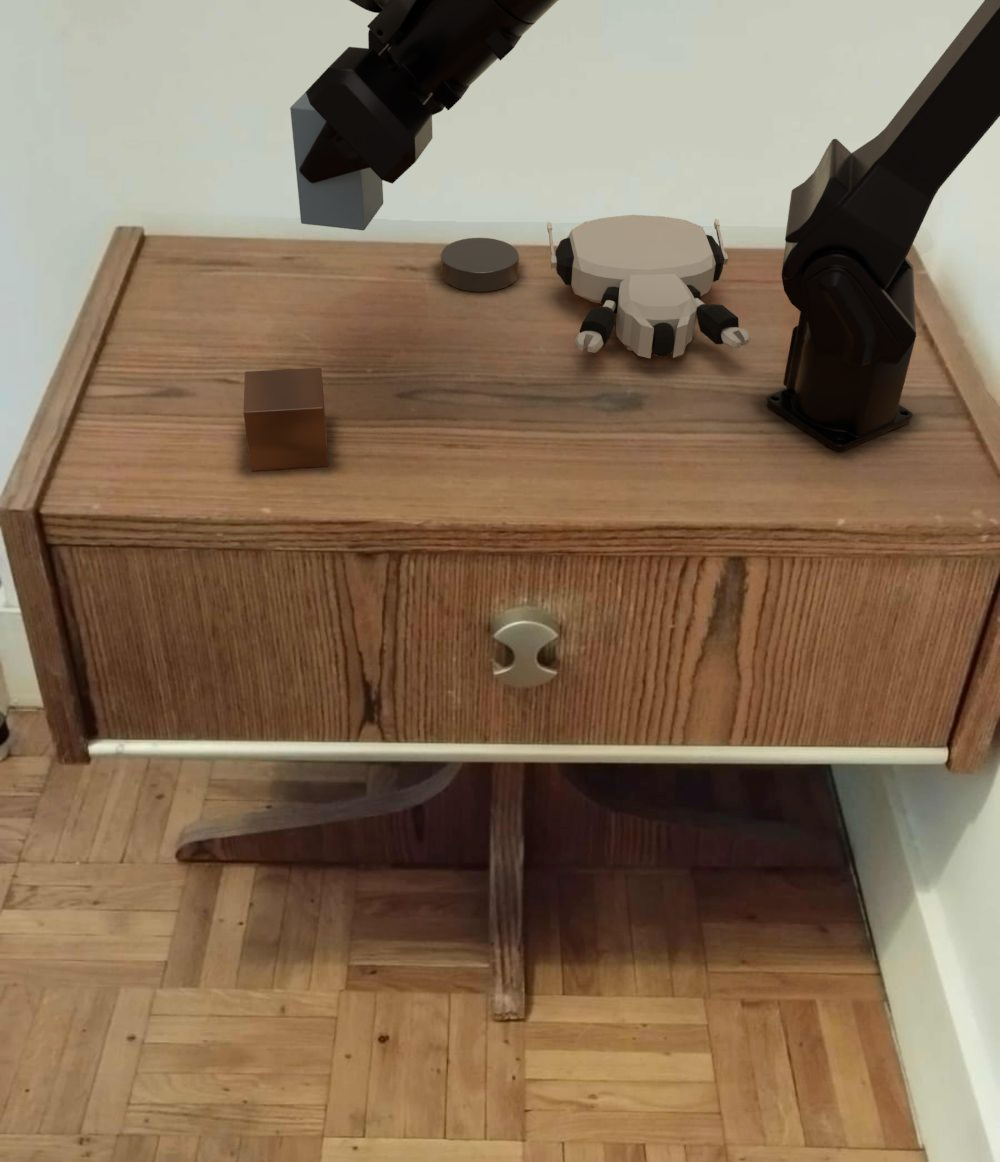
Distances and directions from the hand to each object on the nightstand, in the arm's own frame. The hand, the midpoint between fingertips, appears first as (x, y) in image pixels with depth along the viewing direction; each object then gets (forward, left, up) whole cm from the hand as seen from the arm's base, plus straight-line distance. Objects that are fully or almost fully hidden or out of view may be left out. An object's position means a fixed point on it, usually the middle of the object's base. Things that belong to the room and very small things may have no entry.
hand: (317, 162), depth 77 cm
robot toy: (-8, -20, -13) cm, 25 cm away
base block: (-9, +8, -13) cm, 17 cm away
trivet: (+4, -14, -13) cm, 19 cm away
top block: (-1, -1, -3) cm, 3 cm away
